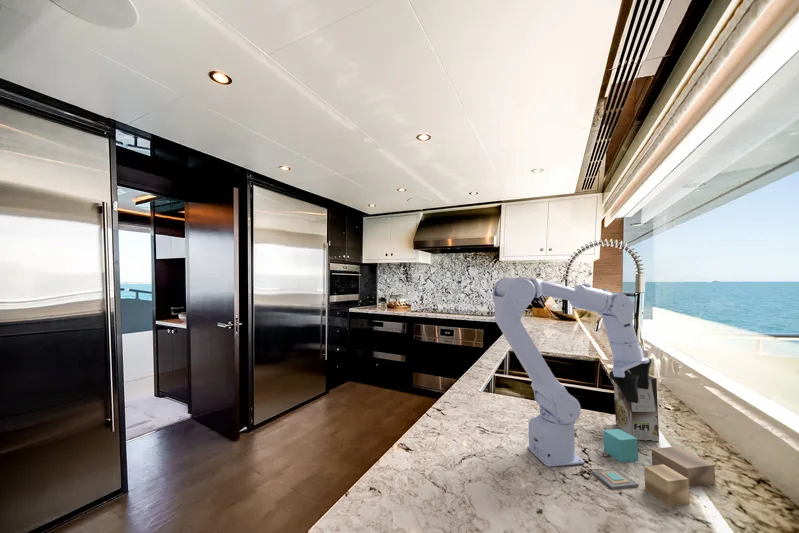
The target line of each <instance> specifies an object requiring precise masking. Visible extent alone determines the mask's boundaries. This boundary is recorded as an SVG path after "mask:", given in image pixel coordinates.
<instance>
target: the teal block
mask: <svg viewBox="0 0 799 533" xmlns="http://www.w3.org/2000/svg"><path fill="white" fill-rule="evenodd" d="M602 432H603V434H602V435H603V451H604V452H605V453H606V454H608V455H610V456H611V457H613V459H615V460H617V461H618V462H620V463H626V462H637V461H639V452H638V451H639V450H638V449H639V448H638V440H637V438H635V437H633V436H632V435H630V434H628V433H626V432H625V431H623V430H622V429H621V428H614V429H603V431H602Z"/></svg>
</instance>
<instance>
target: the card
mask: <svg viewBox="0 0 799 533" xmlns="http://www.w3.org/2000/svg"><path fill="white" fill-rule="evenodd" d="M591 474H593V475H594V476H595V477H596V478H597V479H598V480H600V482H602V483H604V485H606V486H607V487H608V488H609V489H611V491H612V490H620V489H629V488H638V487H639V483H637V482H636V480H635V481H634V480H633V479H632V478H631V477H629V476H627V475H626V474H625V473H623V472H622V471H621V470H619V469H618V468H610V469H609V468H608V469H599V470H598V469H597V470H592V471H591Z"/></svg>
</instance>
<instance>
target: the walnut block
mask: <svg viewBox="0 0 799 533" xmlns="http://www.w3.org/2000/svg"><path fill="white" fill-rule="evenodd" d="M661 464H664V465H666V466H667V467H669V468H671V469H672V470H674V471H676V472H677V473H679V474H681V475H683V476H684V477H686V478H688V481H689V489H690V488H697V487H702V486H708V485H709V486H710V485H716V468H715V467H716V466H715V464H714V463H711V462H710V461H707V460H706V459H704V458H701V457H700V456H698V455H695V454H693V453H692V452H690V451H687V450H685V449H683V448H681V447H679V446H678V445H676V446H667V447H657V448H651V466H652V465H661Z"/></svg>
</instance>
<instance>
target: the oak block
mask: <svg viewBox="0 0 799 533" xmlns="http://www.w3.org/2000/svg"><path fill="white" fill-rule="evenodd" d="M643 469H644V470H643V472H644V489H645V490H646V491H647V492H648V493H650V494H651V495H653V496H654V497H655V498H657V499H658V500H659V501H661V502H663V503H664V504H665V505H667V506H668V507H672V506H674V507H675V506H682V504H683V505H689V504H690V502H691V500H690V488H689V481H688V478H686V477H684V476H683V475H681V474H679V473H677V472H676V471H674V470H672V469H671V468H669V467H667V466H666V465H664V464H661V465H652V464H651V465H644V466H643Z"/></svg>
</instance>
